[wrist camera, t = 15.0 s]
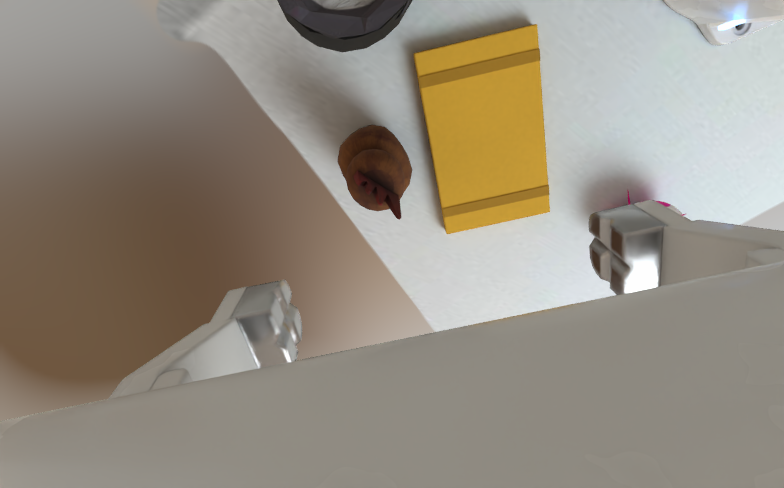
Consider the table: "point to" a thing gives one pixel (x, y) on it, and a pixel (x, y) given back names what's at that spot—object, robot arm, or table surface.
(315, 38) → the portable speaker
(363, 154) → the wooden figurine
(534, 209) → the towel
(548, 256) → the table surface
